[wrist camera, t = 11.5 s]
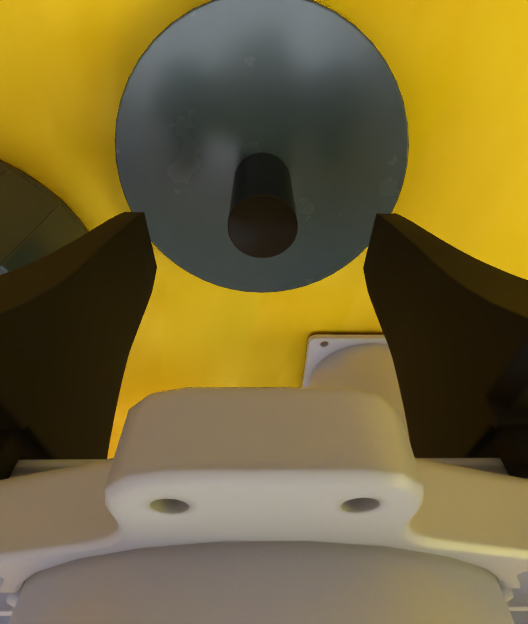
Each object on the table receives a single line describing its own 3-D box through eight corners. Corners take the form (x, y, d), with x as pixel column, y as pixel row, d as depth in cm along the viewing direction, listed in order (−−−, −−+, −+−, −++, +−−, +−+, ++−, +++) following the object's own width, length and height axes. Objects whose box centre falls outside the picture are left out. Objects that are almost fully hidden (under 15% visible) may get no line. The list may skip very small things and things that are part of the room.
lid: (442, -6, 12) (527, -5, 8) (368, 281, 20) (394, 348, 16) (82, -12, 12) (-2, -13, 8) (153, 280, 20) (127, 348, 16)
